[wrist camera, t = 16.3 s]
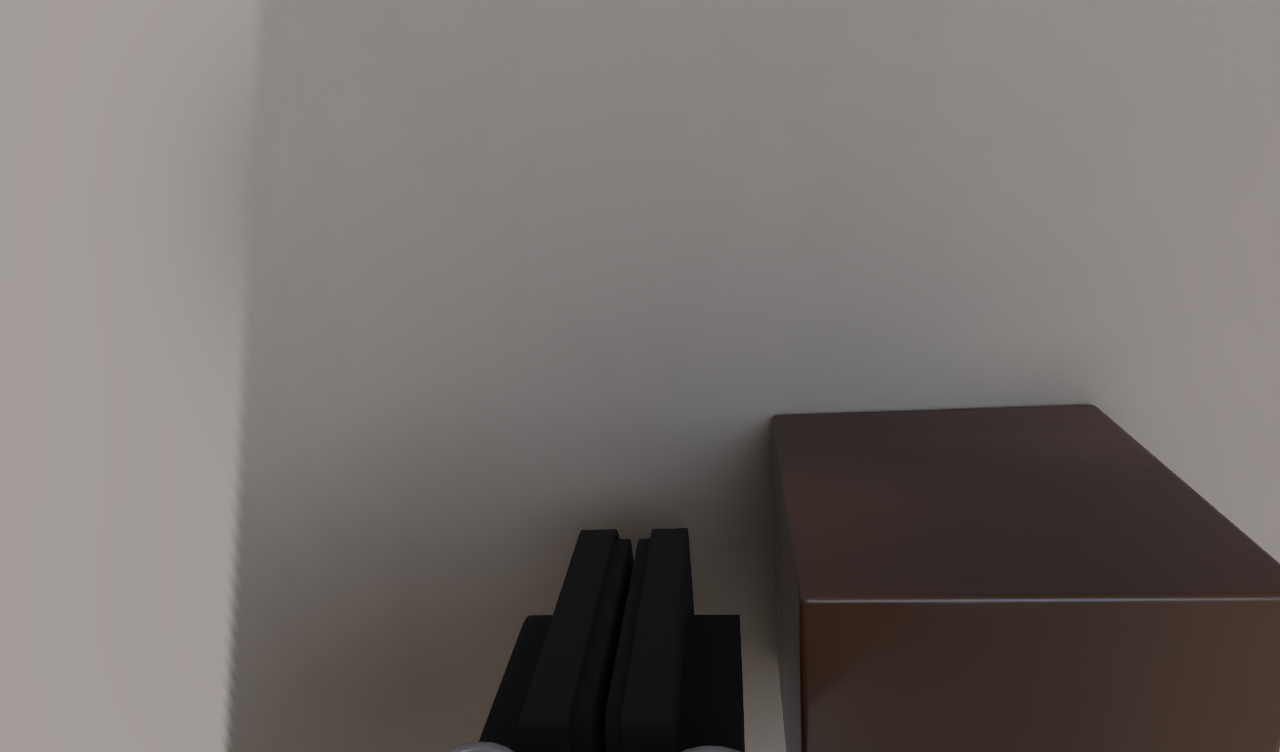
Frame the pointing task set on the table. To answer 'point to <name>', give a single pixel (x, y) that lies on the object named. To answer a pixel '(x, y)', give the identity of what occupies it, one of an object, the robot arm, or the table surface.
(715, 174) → the table surface
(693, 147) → the table surface
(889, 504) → the walnut block
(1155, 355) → the table surface
